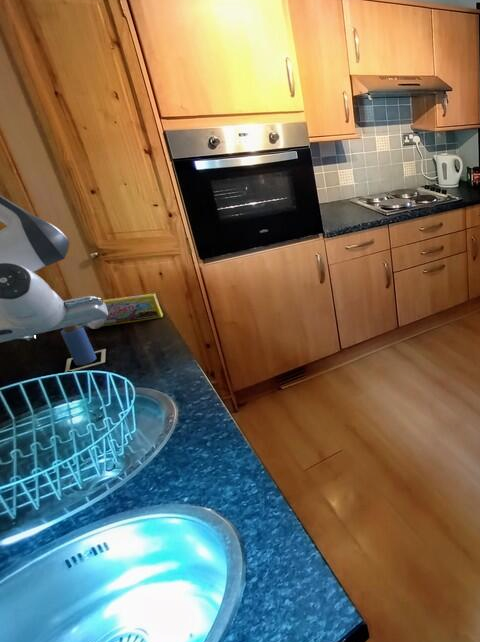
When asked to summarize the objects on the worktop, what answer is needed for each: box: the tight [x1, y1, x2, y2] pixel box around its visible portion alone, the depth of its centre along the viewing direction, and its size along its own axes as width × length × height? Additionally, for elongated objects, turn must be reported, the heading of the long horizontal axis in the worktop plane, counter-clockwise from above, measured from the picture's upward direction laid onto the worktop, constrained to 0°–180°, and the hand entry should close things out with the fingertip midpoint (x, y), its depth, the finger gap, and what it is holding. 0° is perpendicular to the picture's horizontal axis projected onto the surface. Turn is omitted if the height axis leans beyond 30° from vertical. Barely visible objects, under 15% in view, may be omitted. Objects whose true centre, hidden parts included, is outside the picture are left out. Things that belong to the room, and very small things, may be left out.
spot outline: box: [64, 348, 107, 373], centre depth 122 cm, size 8×8×1 cm
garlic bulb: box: [87, 318, 107, 330], centre depth 138 cm, size 6×6×5 cm
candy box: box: [102, 292, 164, 327], centre depth 140 cm, size 16×2×8 cm, turn 112°
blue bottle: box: [60, 324, 97, 367], centre depth 120 cm, size 4×4×12 cm
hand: (59, 330), depth 108 cm, fingers open, 8 cm apart
